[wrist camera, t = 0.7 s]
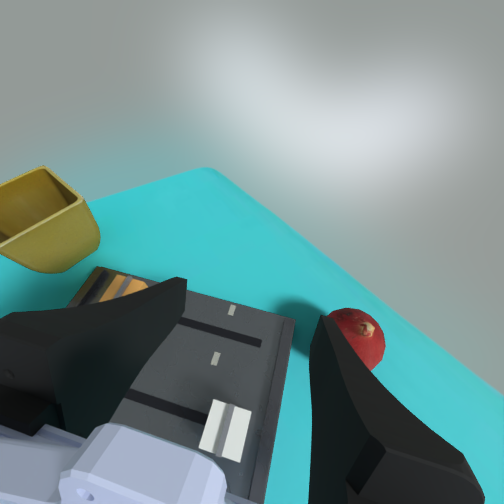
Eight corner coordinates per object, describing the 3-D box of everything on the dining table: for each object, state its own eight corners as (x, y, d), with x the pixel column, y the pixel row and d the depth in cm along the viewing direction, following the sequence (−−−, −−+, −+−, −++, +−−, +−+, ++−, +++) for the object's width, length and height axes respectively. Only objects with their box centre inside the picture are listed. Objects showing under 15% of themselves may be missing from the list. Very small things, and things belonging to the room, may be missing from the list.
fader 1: (142, 324, 26) (126, 309, 22) (116, 317, 26) (96, 300, 22) (156, 298, 27) (143, 279, 24) (132, 291, 28) (116, 272, 24)
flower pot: (120, 248, 33) (84, 197, 25) (55, 294, 29) (-10, 250, 21) (85, 216, 36) (44, 163, 28) (22, 254, 32) (-46, 203, 24)
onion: (302, 330, 27) (320, 301, 21) (347, 316, 28) (379, 285, 22) (324, 387, 24) (355, 374, 17) (375, 369, 25) (422, 351, 18)
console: (258, 522, 19) (260, 531, 17) (-3, 421, 22) (-23, 421, 20) (293, 323, 28) (296, 317, 26) (105, 271, 31) (97, 263, 29)
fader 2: (240, 456, 20) (239, 464, 16) (205, 444, 20) (197, 449, 16) (250, 412, 21) (251, 410, 18) (218, 401, 22) (213, 398, 18)
